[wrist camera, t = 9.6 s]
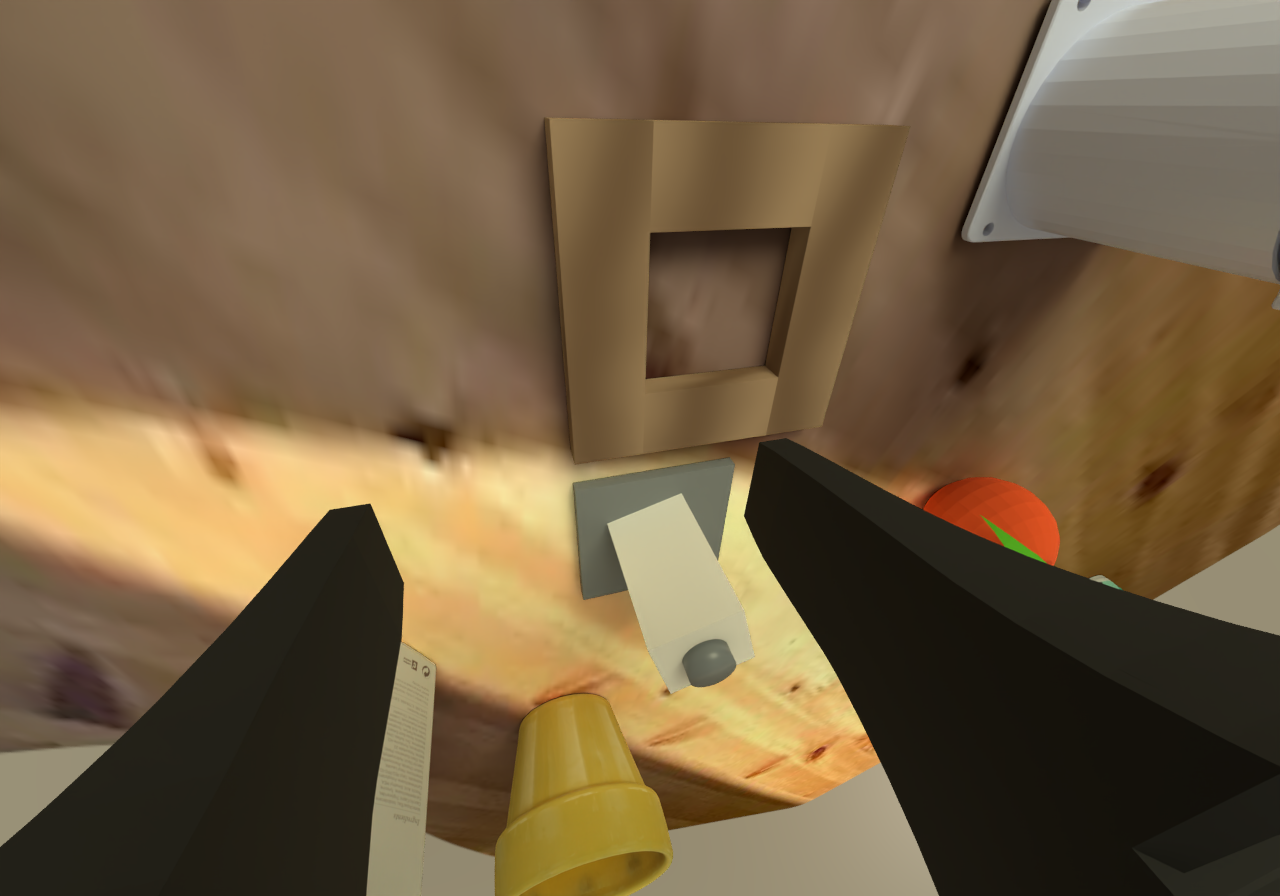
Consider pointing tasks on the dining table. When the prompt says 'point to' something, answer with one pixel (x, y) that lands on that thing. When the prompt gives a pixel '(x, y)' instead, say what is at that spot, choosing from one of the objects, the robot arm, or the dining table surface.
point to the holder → (699, 201)
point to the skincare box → (403, 781)
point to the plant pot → (579, 808)
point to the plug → (681, 595)
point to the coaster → (634, 492)
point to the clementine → (999, 515)
